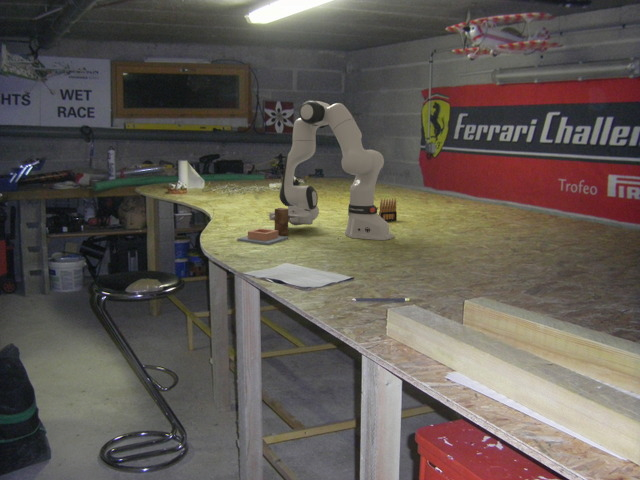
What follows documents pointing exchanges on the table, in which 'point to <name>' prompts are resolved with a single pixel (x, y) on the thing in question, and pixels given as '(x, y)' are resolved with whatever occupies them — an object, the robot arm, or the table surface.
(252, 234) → the housing
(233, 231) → the table surface
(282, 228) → the wooden post
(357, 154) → the robot arm
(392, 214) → the ammunition clip
